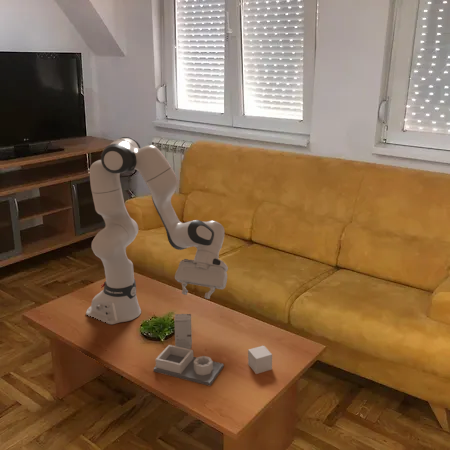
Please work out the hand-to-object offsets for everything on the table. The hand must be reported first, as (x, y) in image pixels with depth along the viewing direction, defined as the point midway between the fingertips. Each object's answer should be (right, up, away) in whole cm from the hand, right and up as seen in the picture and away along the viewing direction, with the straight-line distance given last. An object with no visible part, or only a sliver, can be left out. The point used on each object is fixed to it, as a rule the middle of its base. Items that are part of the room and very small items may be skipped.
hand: (195, 296), depth 191 cm
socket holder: (-1, -22, -17) cm, 28 cm away
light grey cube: (+23, -22, -17) cm, 36 cm away
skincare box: (-4, -18, -4) cm, 19 cm away
